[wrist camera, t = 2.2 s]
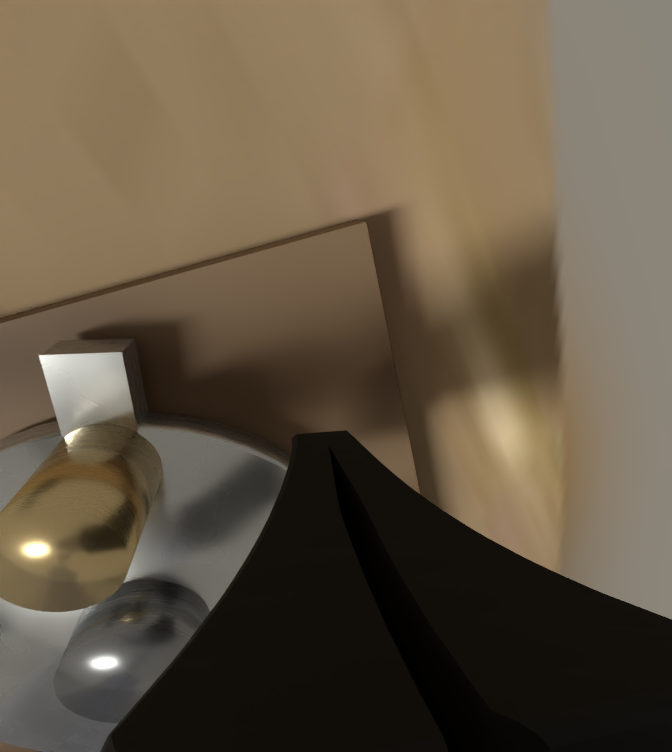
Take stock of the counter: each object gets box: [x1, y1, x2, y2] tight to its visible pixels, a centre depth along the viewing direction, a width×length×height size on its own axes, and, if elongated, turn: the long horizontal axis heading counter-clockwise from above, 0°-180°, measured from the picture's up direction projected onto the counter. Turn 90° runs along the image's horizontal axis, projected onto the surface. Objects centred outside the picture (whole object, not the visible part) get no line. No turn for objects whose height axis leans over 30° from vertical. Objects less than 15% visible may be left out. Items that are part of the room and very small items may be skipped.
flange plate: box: [0, 338, 291, 752], centre depth 10 cm, size 15×13×4 cm
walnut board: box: [0, 220, 420, 752], centre depth 13 cm, size 18×18×3 cm
